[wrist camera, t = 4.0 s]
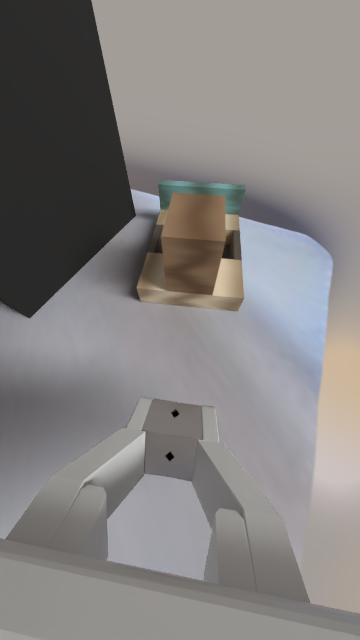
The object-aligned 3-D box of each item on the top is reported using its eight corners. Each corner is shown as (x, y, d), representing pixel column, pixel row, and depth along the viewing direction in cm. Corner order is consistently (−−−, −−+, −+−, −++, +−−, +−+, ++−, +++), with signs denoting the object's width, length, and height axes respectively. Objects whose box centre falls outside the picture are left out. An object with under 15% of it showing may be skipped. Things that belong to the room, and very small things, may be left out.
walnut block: (166, 290, 24) (161, 236, 17) (174, 249, 28) (172, 192, 21) (212, 295, 24) (225, 241, 17) (214, 253, 28) (225, 195, 21)
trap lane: (140, 301, 27) (129, 265, 21) (163, 220, 37) (159, 180, 31) (237, 311, 26) (254, 276, 20) (234, 225, 36) (244, 185, 30)
